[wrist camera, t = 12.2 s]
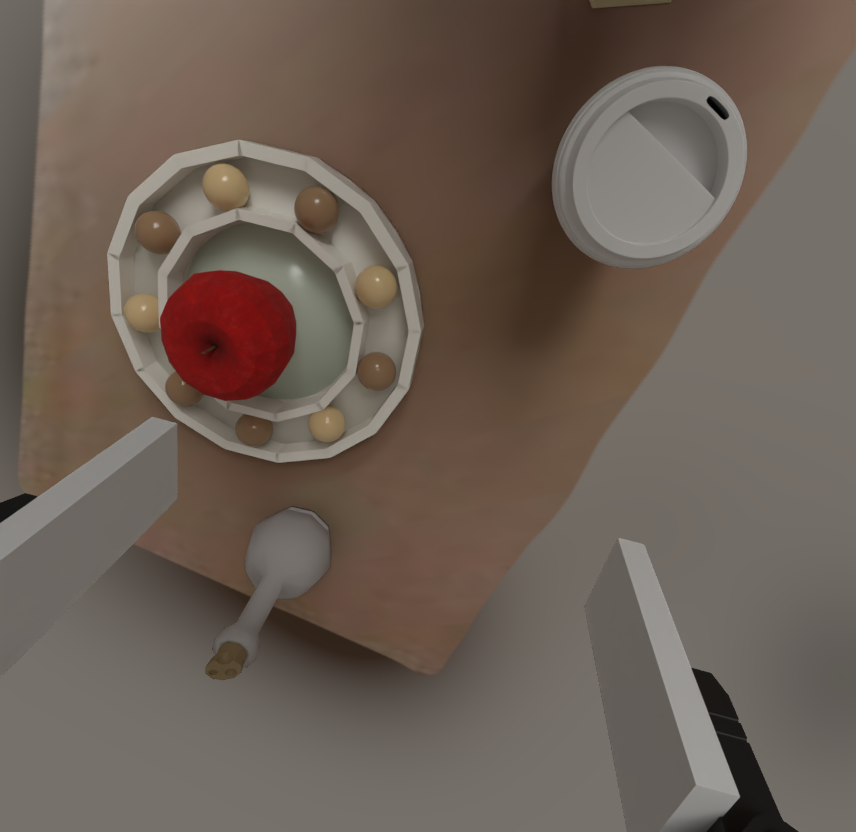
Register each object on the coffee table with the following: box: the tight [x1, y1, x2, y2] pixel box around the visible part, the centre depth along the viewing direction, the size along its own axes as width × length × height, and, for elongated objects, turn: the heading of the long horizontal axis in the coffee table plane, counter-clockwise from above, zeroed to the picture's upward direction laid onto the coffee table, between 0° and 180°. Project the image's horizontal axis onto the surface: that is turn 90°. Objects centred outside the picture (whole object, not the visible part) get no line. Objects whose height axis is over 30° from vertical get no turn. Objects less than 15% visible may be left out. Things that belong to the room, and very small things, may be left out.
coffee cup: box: [552, 66, 747, 269], centre depth 32 cm, size 10×10×15 cm
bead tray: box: [107, 140, 424, 463], centre depth 45 cm, size 27×27×4 cm
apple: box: [160, 270, 296, 401], centre depth 41 cm, size 10×10×11 cm
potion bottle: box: [206, 506, 331, 680], centre depth 49 cm, size 9×9×18 cm
